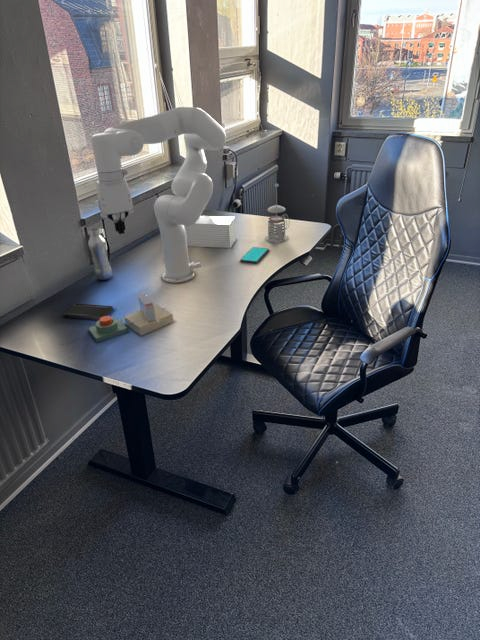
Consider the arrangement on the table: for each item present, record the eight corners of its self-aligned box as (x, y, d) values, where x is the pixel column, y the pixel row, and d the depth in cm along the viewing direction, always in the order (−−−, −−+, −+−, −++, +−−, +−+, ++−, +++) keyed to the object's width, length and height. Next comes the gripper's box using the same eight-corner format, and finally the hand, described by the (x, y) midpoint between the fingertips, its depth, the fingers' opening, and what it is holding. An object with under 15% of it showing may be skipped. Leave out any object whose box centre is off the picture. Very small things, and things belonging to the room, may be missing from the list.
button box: (118, 321, 152) (117, 312, 150) (127, 332, 146) (126, 322, 144) (88, 331, 147) (86, 322, 145) (96, 342, 141) (94, 332, 140)
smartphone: (268, 248, 200) (256, 261, 188) (268, 250, 200) (256, 263, 188) (252, 246, 202) (239, 259, 190) (253, 248, 203) (240, 261, 191)
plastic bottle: (109, 282, 179) (98, 232, 169) (93, 281, 180) (81, 232, 170) (116, 275, 185) (106, 227, 175) (100, 274, 186) (90, 226, 176)
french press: (275, 233, 218) (275, 179, 206) (294, 238, 211) (295, 183, 199) (261, 239, 212) (260, 184, 200) (281, 245, 205) (281, 188, 193)
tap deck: (155, 309, 158) (154, 301, 157) (177, 323, 149) (176, 314, 148) (121, 323, 151) (119, 314, 149) (142, 338, 142) (140, 329, 140)
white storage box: (236, 239, 214) (235, 216, 208) (230, 248, 205) (228, 224, 199) (171, 236, 221) (168, 214, 216) (163, 244, 212) (160, 222, 207)
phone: (74, 303, 162) (113, 306, 159) (75, 306, 163) (114, 309, 159) (62, 314, 155) (103, 317, 152) (63, 317, 156) (103, 320, 153)
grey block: (140, 310, 152) (137, 294, 149) (148, 308, 153) (145, 292, 150) (148, 322, 145) (145, 306, 142) (156, 320, 145) (153, 303, 143)
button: (110, 319, 147) (109, 314, 146) (113, 323, 144) (112, 319, 144) (99, 322, 145) (97, 318, 145) (102, 327, 143) (101, 322, 142)
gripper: (131, 170, 149) (140, 225, 158) (84, 177, 144) (96, 233, 153) (137, 174, 143) (146, 231, 152) (88, 182, 138) (100, 240, 147)
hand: (121, 232), depth 152 cm, fingers closed
